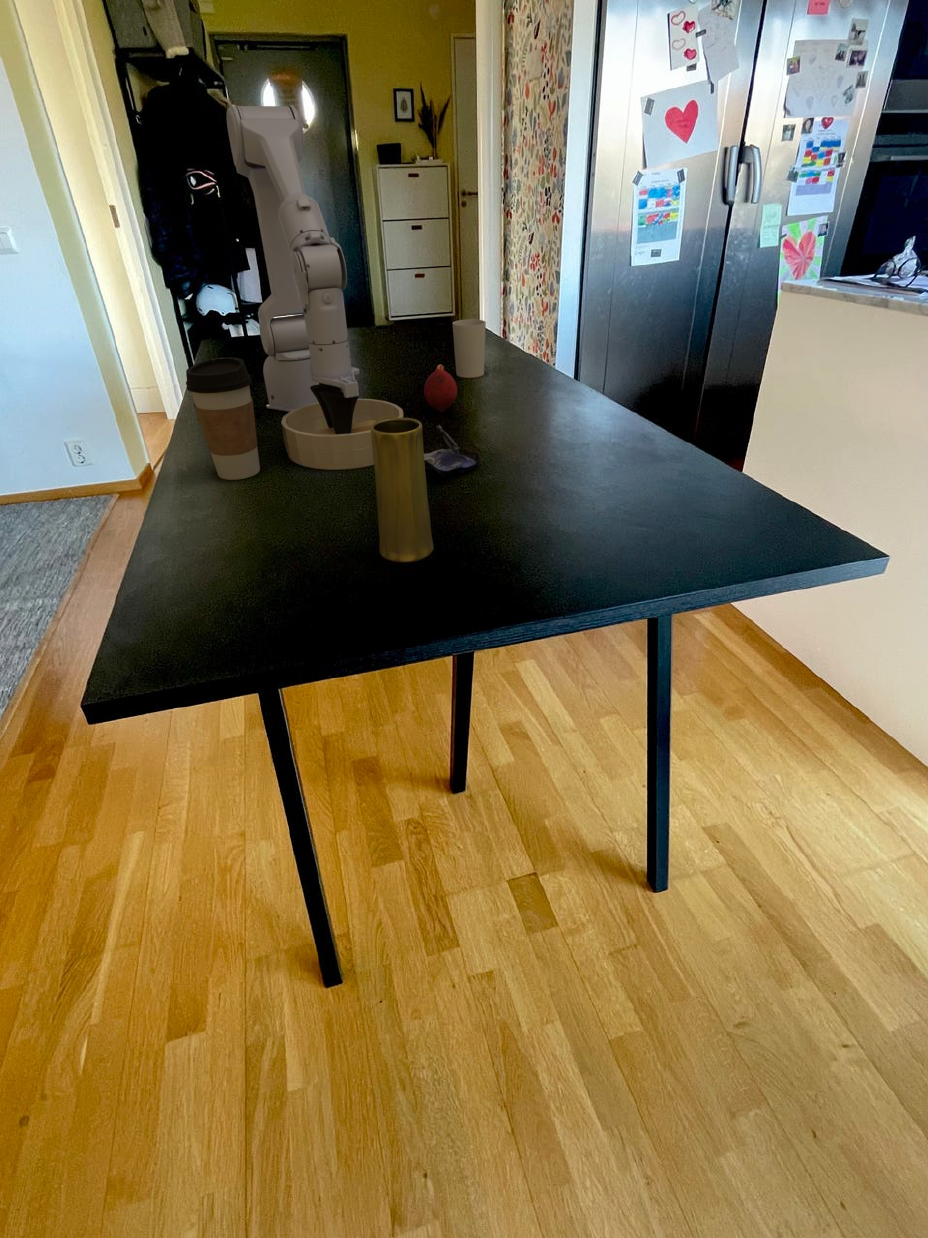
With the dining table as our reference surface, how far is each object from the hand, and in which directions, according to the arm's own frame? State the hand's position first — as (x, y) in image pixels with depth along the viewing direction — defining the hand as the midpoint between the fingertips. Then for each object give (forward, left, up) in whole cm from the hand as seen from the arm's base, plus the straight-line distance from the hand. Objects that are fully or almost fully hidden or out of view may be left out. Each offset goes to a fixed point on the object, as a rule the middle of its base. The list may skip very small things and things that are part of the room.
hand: (340, 433), depth 103 cm
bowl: (+1, 0, -2) cm, 2 cm away
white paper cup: (-3, +47, -2) cm, 47 cm away
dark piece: (+18, -1, -2) cm, 18 cm away
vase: (+28, -24, -2) cm, 37 cm away
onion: (+5, +22, -2) cm, 22 cm away
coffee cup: (-7, -15, -2) cm, 17 cm away
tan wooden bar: (0, 0, -1) cm, 1 cm away
